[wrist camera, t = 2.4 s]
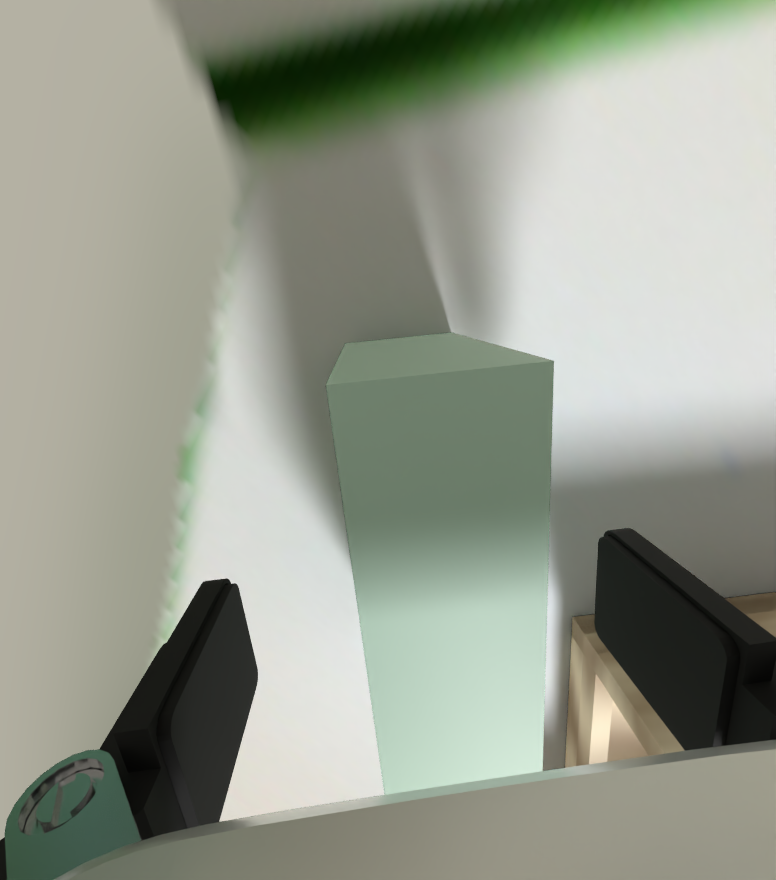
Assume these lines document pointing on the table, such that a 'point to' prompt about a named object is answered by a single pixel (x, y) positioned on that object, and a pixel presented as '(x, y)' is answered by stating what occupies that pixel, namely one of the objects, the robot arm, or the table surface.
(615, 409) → the table surface
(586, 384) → the table surface
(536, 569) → the green block
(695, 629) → the robot arm
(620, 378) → the table surface
